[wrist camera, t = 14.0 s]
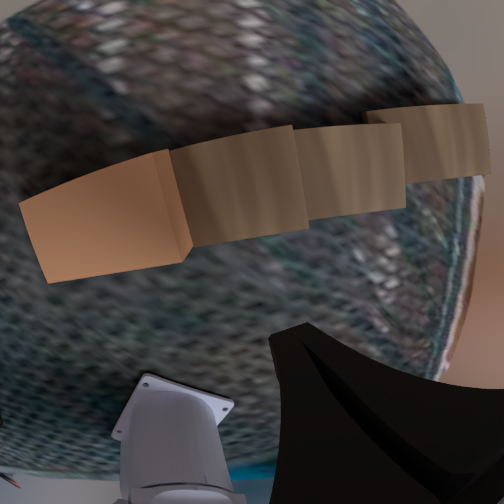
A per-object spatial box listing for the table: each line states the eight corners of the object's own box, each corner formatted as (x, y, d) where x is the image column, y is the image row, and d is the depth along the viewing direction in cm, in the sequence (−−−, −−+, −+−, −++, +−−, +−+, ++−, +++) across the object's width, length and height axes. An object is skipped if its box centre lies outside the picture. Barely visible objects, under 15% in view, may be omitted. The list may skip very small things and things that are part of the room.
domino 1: (48, 283, 15) (182, 262, 13) (18, 203, 13) (152, 152, 12) (65, 268, 16) (193, 245, 15) (40, 194, 15) (168, 148, 13)
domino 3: (255, 227, 17) (405, 207, 16) (240, 137, 15) (400, 123, 14) (255, 217, 19) (392, 199, 18) (242, 136, 17) (386, 123, 16)
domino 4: (379, 187, 18) (491, 173, 16) (366, 111, 16) (483, 103, 14) (373, 181, 20) (478, 168, 17) (361, 112, 18) (470, 103, 15)
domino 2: (140, 256, 16) (309, 228, 14) (113, 167, 14) (292, 124, 13) (152, 243, 18) (305, 216, 16) (129, 162, 16) (289, 125, 14)
